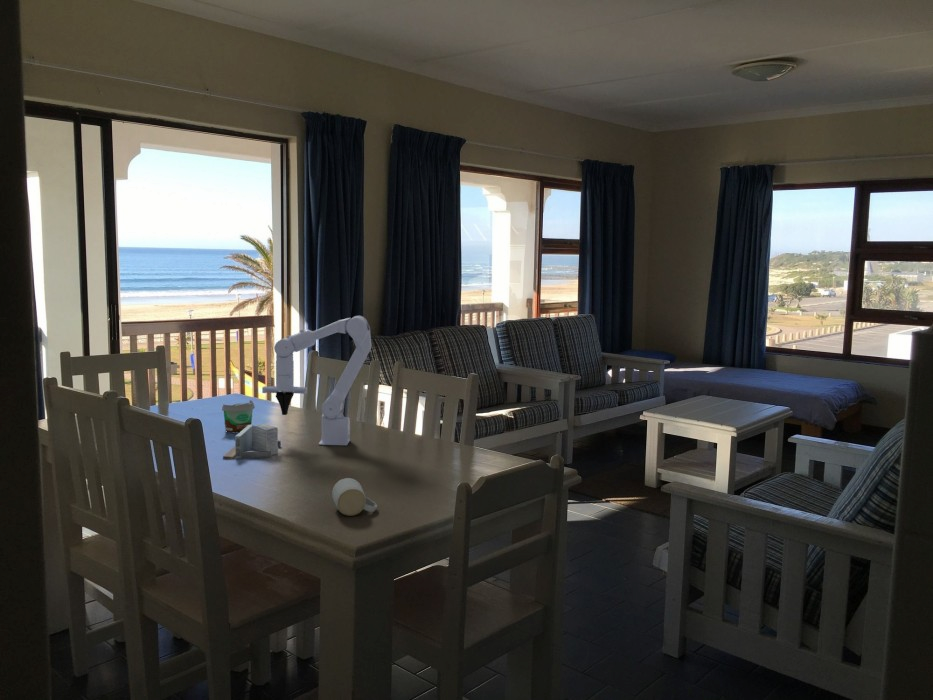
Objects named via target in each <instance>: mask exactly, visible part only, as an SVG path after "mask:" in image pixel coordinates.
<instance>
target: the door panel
mask: <svg viewBox="0 0 933 700" xmlns="http://www.w3.org/2000/svg"><path fill="white" fill-rule="evenodd" d="M252 426H254V424H251V425H248V426H247V427H246V428H244V429H243V430H242V431H241V432H240V433H236V435H235V438H234V439H235V440H234V441H235V444H234V446H235V451H236V457H235V459H242V458H241V451H248V450H249V449H250V448H251V447H252ZM251 449H252V448H251ZM251 449H250V450H251ZM250 450H249V451H250Z"/></svg>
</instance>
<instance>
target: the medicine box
mask: <svg viewBox="0 0 933 700" xmlns="http://www.w3.org/2000/svg"><path fill="white" fill-rule="evenodd" d="M278 433H279V430H278V426H277V427H276V426H274V425H271V424H270V425H269V424H266V423H260V424H259V423H258V424H253V426H252V448H251V449H252V450H251V451H271V456H273V454H274V455H278V454H279V447H278V441H279V440H278V439H279V438H278V437H279V436H278V435H279V434H278Z"/></svg>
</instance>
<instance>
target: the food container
mask: <svg viewBox="0 0 933 700" xmlns="http://www.w3.org/2000/svg"><path fill="white" fill-rule="evenodd" d="M254 409H255V404H254V401H253V400H251V399H249V402H247V403H246V402H245V403H235V404H229V405H228V404H222V408H221V411H223V417H224V428H225V432H226V431H227V432H226V433H228V432H241V431H242V430H243V429H244V428H246V427H247V426H248V425H252V420H253V410H254Z"/></svg>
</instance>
